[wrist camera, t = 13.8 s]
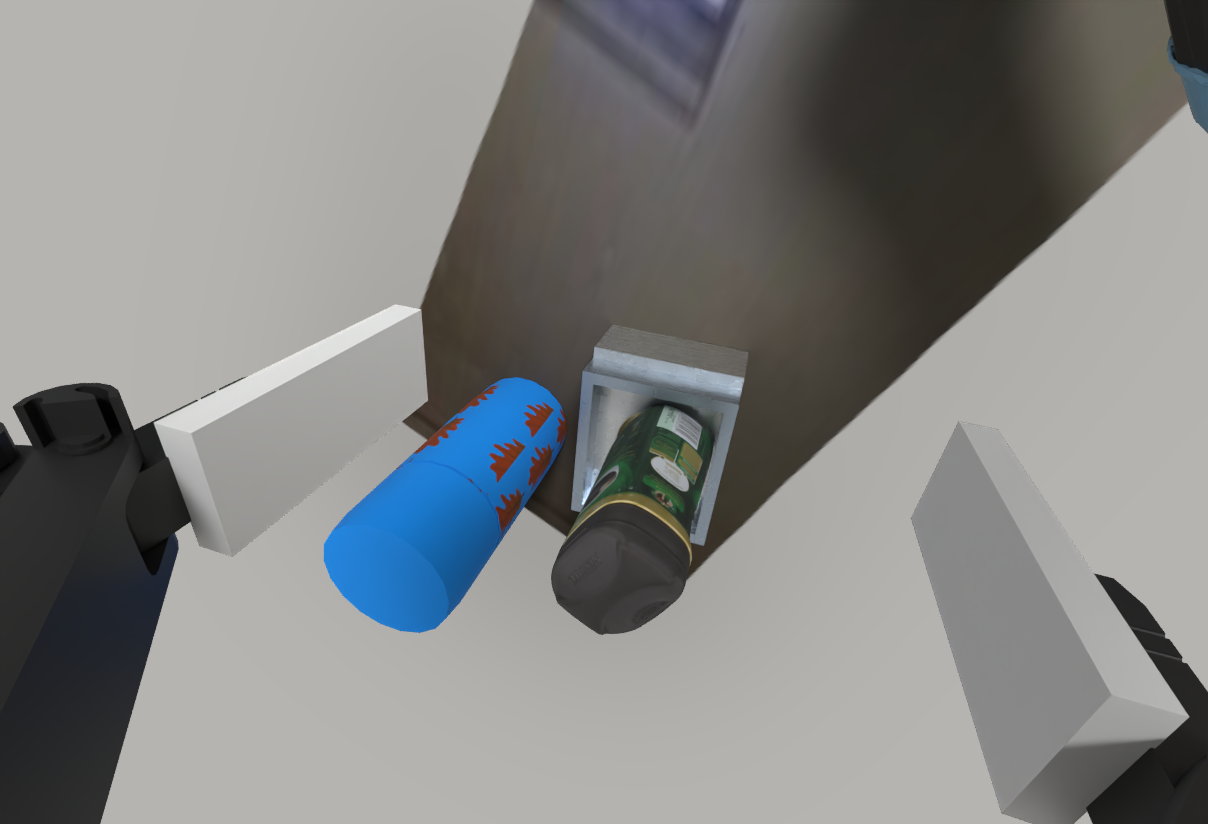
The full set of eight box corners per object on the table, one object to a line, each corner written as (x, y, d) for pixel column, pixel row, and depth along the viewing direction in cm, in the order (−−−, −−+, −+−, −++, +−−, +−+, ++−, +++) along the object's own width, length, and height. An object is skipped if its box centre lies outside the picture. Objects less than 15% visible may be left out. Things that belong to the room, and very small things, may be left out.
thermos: (478, 447, 65) (330, 607, 44) (479, 366, 60) (310, 504, 38) (564, 471, 63) (453, 651, 42) (573, 389, 57) (450, 549, 36)
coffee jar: (663, 502, 53) (613, 664, 38) (600, 452, 53) (522, 596, 37) (731, 441, 48) (705, 600, 33) (661, 385, 48) (601, 520, 32)
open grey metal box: (748, 351, 50) (742, 393, 43) (712, 496, 59) (701, 553, 51) (612, 324, 53) (583, 360, 45) (597, 467, 61) (570, 517, 54)
